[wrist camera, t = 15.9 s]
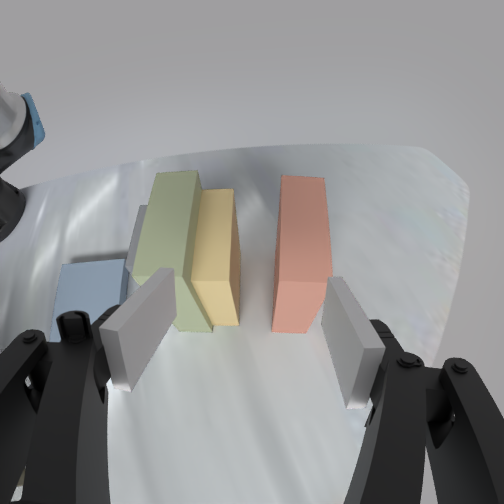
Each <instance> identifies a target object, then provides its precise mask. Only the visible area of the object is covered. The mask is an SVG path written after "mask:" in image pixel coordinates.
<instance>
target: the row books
mask: <svg viewBox="0 0 504 504" xmlns="http://www.w3.org/2000/svg"><path fill="white" fill-rule="evenodd" d="M240 256H241V253H240V244H239V235H238V226H237V216H236V207H235V198H234V189H207V190H202V188H201V183H200V179H199V174H198V170H196V171H179V172H165V173H157V174H156V177H155V180H154V184H153V188H152V191H151V195H150V198H149V202H148V206H147V210H146V214H145V218H144V222H143V226H142V230H141V234H140V239H139V243H138V248H137V252H136V257H135V262H134V266H133V272H132V277H133V278H134V279H135V281H136V282H137V283H138V284H139V286H141V285H143V284H144V283H145V282H146V281H147V280H148V279H149V278H150V277H151V276H152V275H153V274H154V273H155V272H156V271H157V270H158V269H159V268H160V267H164V268H174V275H175V294H176V310H177V316H176V318H175V319H174V321H173V322H172V324H173V325H174V326H175V327H176V328H177V329H178V330H179V331H182V332H212V329H213V325H222V326H239V300H240Z"/></svg>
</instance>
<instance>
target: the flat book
mask: <svg viewBox="0 0 504 504" xmlns="http://www.w3.org/2000/svg"><path fill="white" fill-rule="evenodd" d="M125 264H126V260H125V259H115V260H104V261H92V262H82V263H71V264H62V268H61V272H60V277H59V282H58V287H57V293H56V298H55V304H54V311H53V317H52V325H51V333H50V341H49V342H60V340H61V337H60V334H59V330H58V326H57V322H56V318H57V317H58V316H59V315H61V314H62V313H65V312H68V311H74V310H79V311H84V312H86V313H88V314H89V318H90V323H91V324H92V323H93V322H94V321H95V320H98V318H99V317H100V316H101V315H102V314H103V313H104V312H105V311H106V310H107V309H108V308H110V307H112V306H114V305H117V304H119V305H122V304H123V303H124V302H125V301H126V294H127V284H128V274H129V271H128V270H127V268H126V267H125Z"/></svg>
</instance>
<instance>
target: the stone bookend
mask: <svg viewBox="0 0 504 504" xmlns="http://www.w3.org/2000/svg"><path fill="white" fill-rule="evenodd" d="M147 206H148V205H140V207H139V211H138V215H137V218H136V222H135V226H134V230H133V234H132V238H131V242H130V247H129V251H128V255H127V260H126V264H125V267H126V268H127V270H128V271H129V272H130V273H131V275H132V272H133V266H134V262H135V257H136V252H137V248H138V243H139V239H140V234H141V230H142V226H143V222H144V218H145V214H146V210H147Z"/></svg>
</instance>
